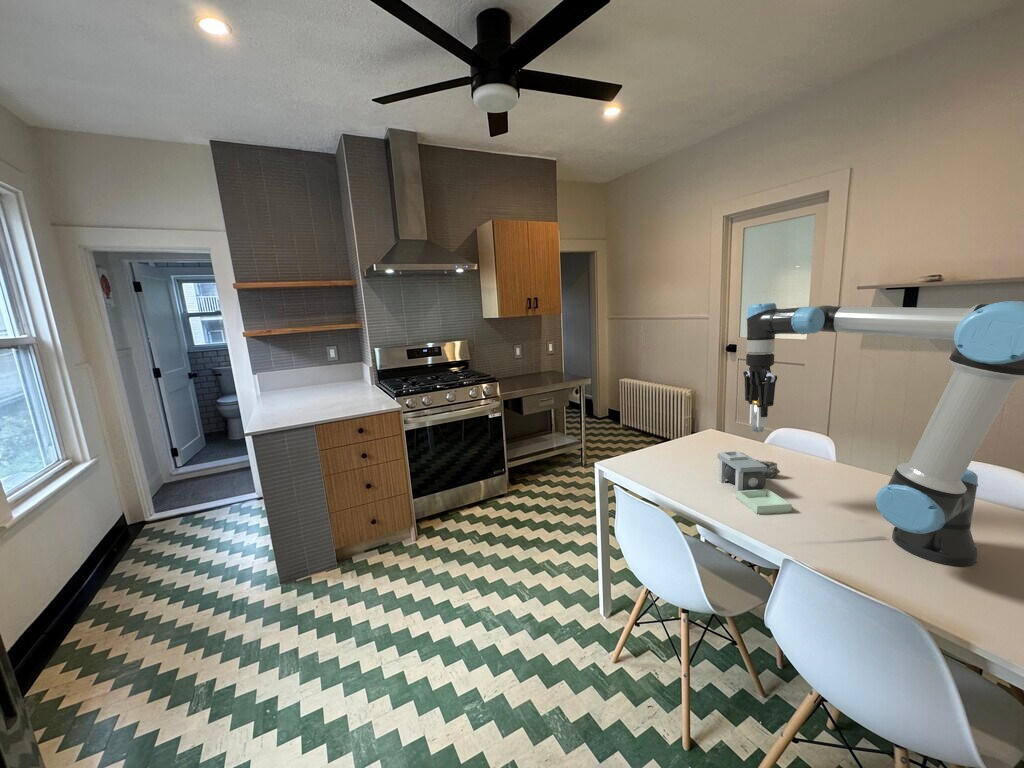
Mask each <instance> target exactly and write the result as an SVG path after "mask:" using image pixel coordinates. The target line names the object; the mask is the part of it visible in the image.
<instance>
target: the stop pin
mask: <svg viewBox="0 0 1024 768" xmlns="http://www.w3.org/2000/svg"><path fill="white" fill-rule="evenodd" d="M752 404H753V409H752V424H751V431H752V432H754V433H763V432H764V431H765V429H764V427H757V405H759V399H758V400H752Z"/></svg>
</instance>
